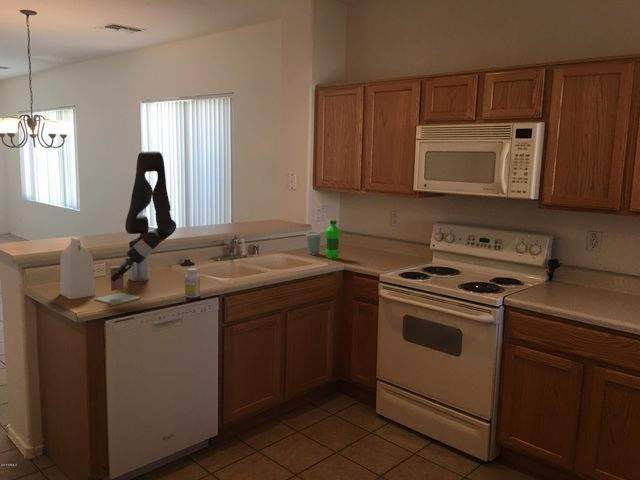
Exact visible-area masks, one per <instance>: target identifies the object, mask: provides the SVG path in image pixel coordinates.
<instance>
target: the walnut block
mask: <svg viewBox="0 0 640 480" xmlns="http://www.w3.org/2000/svg"><path fill="white" fill-rule="evenodd" d="M119 269H120V265H111V266H110V278H111V277H112V276H113V275H114V274H115V273H116V272H117V271H118V270H119ZM121 272H123V270H121ZM124 283H125V282H124V275H123V276H120V277H119V278H118V279H117V280H116V281H115V282H113V281H112V280H111V279H110V291H112V292H113V291H123V290H124V289H125V288H124V285H125V284H124Z"/></svg>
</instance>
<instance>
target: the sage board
mask: <svg viewBox="0 0 640 480" xmlns="http://www.w3.org/2000/svg"><path fill="white" fill-rule="evenodd" d="M141 298H142V297H139V296H136V295H132V294H128V293H124V292H118V293H114V294H109V295H104V296H100V297H99V296H98V297H96V298H95V297H94V298H93V301H96V302H101V303H104V304H108V305H112V306H116V305H120V304H121V305H122V304H124V303H129V302H133V301H138V300H141Z"/></svg>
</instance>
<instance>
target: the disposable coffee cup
mask: <svg viewBox="0 0 640 480" xmlns="http://www.w3.org/2000/svg"><path fill="white" fill-rule="evenodd" d="M305 238H306V244H307V251H308V254H309V256H317V255H319V252H320V247H321V240H322V234H321V233H320V232H318V231H308V232H306V234H305Z"/></svg>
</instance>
